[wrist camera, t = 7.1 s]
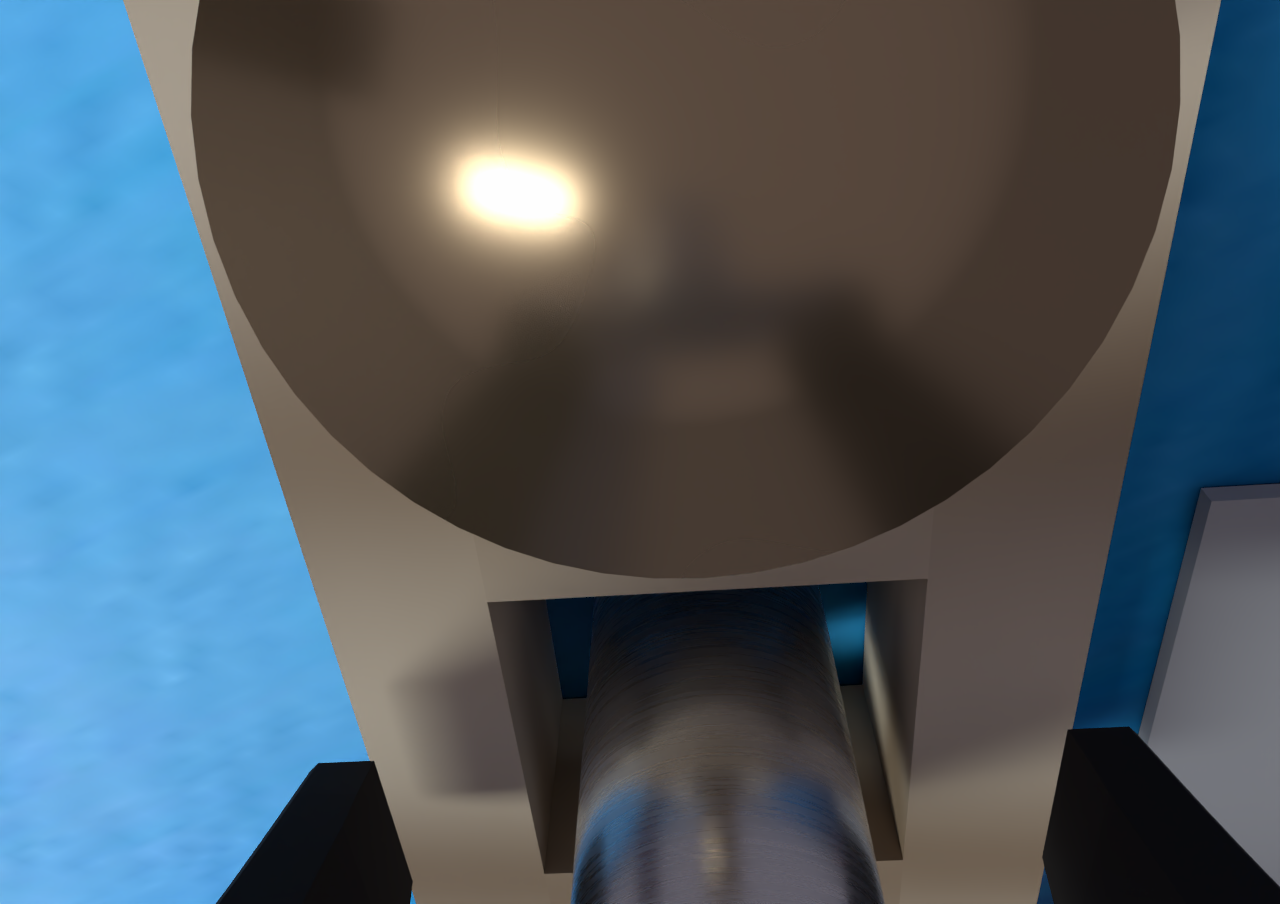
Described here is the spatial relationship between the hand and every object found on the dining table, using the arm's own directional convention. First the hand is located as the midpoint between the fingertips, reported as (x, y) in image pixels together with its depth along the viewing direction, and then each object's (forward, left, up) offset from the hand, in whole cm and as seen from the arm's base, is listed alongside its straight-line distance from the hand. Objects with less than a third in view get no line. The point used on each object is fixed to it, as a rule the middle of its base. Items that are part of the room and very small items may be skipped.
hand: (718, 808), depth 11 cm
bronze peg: (+8, 0, -4) cm, 9 cm away
